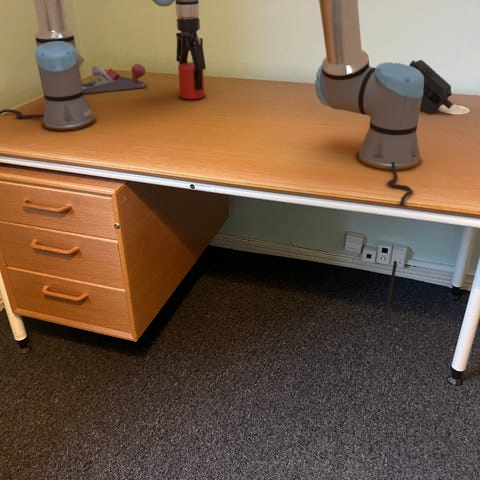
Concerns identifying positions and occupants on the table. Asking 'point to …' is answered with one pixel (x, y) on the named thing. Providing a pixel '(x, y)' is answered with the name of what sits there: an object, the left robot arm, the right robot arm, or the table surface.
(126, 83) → the hand plane
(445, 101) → the tool
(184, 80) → the canister
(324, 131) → the table surface
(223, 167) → the table surface
